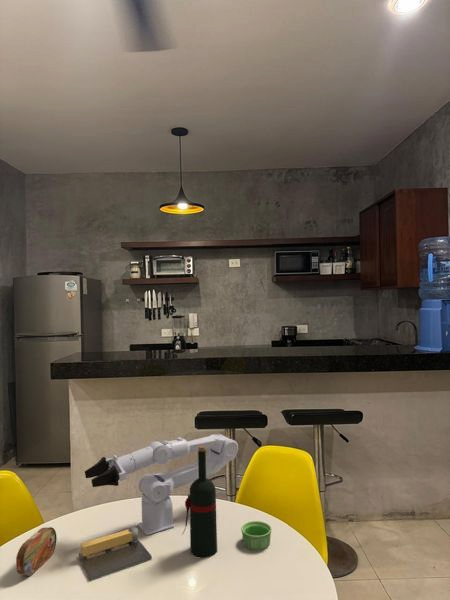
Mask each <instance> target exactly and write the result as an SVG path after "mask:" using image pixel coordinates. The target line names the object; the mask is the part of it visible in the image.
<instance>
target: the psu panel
mask: <svg viewBox="0 0 450 600" xmlns="http://www.w3.org/2000/svg"><path fill="white" fill-rule="evenodd" d="M77 557H78V560H79V561H80V563H81V565H82V568H83V569H84V571H85V572H86V575H87V577H88V578H89V580H90V581H91V582H92V581H94V580H97V579H100V578H102V577H106V576H109V575H111V574H114V573H117V572H120V571H123V570H125V569H129V568H131V567H135V566H136V565H139V564H143V563H146V562H147V561H152V557H153V556H152V554H151V553H150V552H149V551H148V550H147V548H146V547H145V546H144V544H143V543H142V542H141V541H140V540H139V538H138V539H136V540H134V541H130V542H126V543H123V544H120V545H117V546H114V547H111V548H108V549H104V550H101V551H98V552H95V553H92V554H89V555H86V556H83V555H82V553H81V552H78V554H77Z"/></svg>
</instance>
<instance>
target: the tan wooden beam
mask: <svg viewBox="0 0 450 600" xmlns="http://www.w3.org/2000/svg"><path fill="white" fill-rule="evenodd" d="M136 539H138V540H139V529H138V528H137V527H131V528H128V529H124V530H122V531H118V532H116V533H112V534H108V535H105V536H102V537H99V538H95V539H92V540H89V541H85V542H82V543H80V553H82V555H83V556H86V555H89V554H92V553H95V552H98V551H101V550H104V549H108V548H111V547H114V546H117V545H120V544H123V543H126V542H130V541H134V540H136Z"/></svg>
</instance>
